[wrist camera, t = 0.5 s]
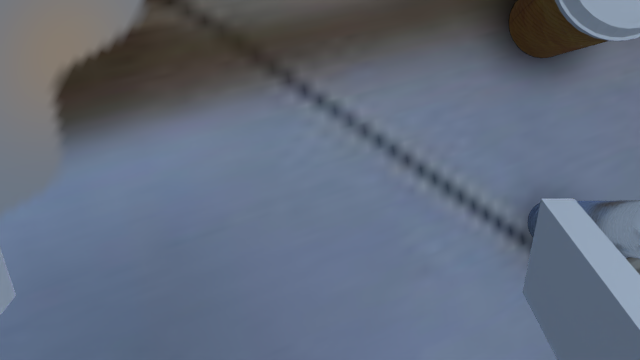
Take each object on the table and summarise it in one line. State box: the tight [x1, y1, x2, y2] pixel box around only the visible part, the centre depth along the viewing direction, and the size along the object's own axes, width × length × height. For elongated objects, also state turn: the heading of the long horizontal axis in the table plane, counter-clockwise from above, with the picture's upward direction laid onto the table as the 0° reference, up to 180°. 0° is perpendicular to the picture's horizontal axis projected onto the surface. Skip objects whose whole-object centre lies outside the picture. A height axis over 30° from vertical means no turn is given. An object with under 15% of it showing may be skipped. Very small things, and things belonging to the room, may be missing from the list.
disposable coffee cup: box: [509, 0, 640, 58], centre depth 44 cm, size 10×10×12 cm
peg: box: [528, 200, 640, 259], centre depth 43 cm, size 4×4×14 cm
